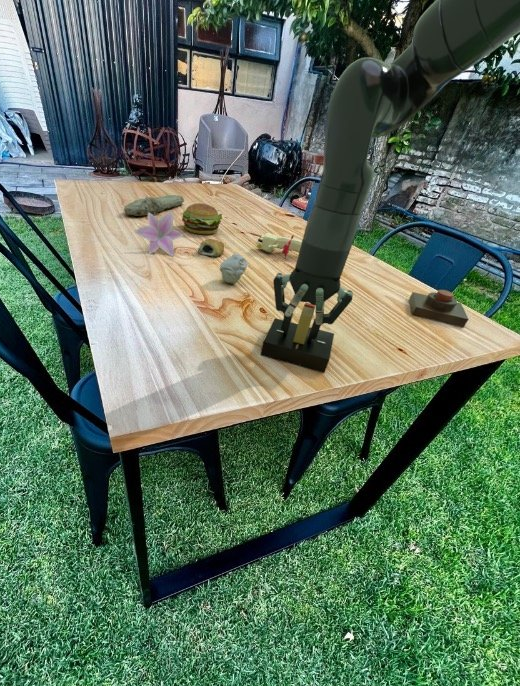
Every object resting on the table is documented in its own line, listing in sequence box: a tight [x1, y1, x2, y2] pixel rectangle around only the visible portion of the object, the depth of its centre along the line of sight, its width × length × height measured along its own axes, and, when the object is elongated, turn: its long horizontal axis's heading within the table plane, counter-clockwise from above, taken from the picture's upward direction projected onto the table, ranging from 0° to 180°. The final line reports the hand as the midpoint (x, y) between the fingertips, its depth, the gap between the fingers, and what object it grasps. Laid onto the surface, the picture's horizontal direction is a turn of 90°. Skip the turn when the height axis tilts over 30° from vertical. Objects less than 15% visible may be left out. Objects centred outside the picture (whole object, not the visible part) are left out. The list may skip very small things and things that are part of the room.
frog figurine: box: [219, 253, 248, 285], centre depth 86 cm, size 6×7×7 cm
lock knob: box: [293, 302, 316, 344], centre depth 63 cm, size 5×2×6 cm, turn 161°
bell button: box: [435, 289, 455, 302], centre depth 85 cm, size 4×4×2 cm
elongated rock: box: [123, 194, 185, 217], centre depth 133 cm, size 35×5×10 cm
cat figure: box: [255, 232, 302, 259], centre depth 106 cm, size 10×9×25 cm
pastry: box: [197, 238, 225, 258], centre depth 103 cm, size 9×7×4 cm
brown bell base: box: [408, 291, 470, 328], centre depth 86 cm, size 12×10×4 cm
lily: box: [134, 210, 184, 257], centre depth 98 cm, size 12×12×10 cm
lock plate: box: [260, 317, 335, 373], centre depth 66 cm, size 12×10×3 cm
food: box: [180, 202, 223, 236], centre depth 117 cm, size 14×14×8 cm
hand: (297, 335), depth 65 cm, fingers open, 4 cm apart
